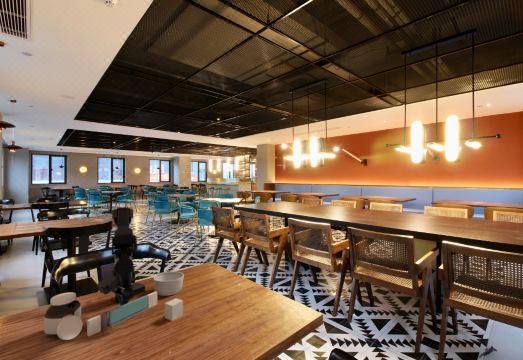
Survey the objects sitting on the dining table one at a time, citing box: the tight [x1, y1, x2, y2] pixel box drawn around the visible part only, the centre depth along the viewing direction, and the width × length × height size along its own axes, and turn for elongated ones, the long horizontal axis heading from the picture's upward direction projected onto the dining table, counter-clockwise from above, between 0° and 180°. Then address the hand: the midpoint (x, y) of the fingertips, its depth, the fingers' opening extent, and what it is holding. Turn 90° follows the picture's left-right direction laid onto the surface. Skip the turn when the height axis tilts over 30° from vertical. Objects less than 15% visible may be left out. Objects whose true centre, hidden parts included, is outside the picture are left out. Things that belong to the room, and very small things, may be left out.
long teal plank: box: [108, 295, 148, 324], centre depth 97 cm, size 14×1×4 cm, turn 149°
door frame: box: [86, 290, 158, 337], centre depth 96 cm, size 2×26×5 cm, turn 149°
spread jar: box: [43, 291, 83, 341], centre depth 87 cm, size 12×11×12 cm
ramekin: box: [152, 270, 185, 297], centre depth 120 cm, size 13×13×7 cm
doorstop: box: [164, 297, 184, 322], centre depth 98 cm, size 4×5×6 cm
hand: (123, 308), depth 97 cm, fingers closed
